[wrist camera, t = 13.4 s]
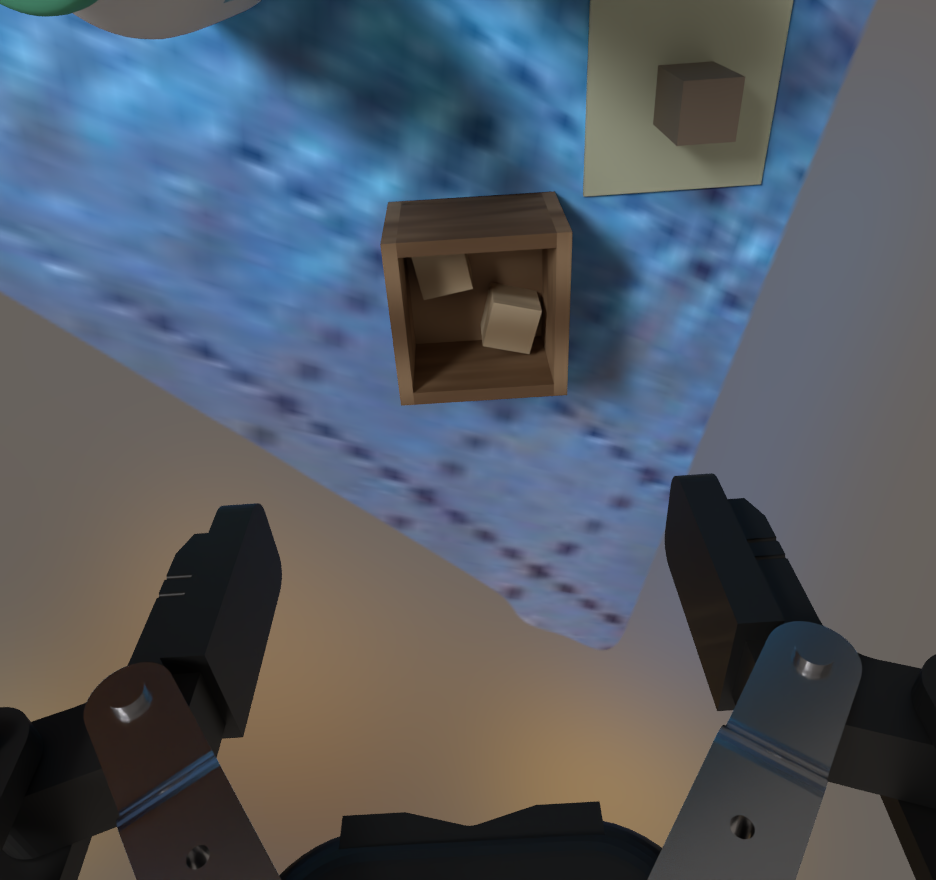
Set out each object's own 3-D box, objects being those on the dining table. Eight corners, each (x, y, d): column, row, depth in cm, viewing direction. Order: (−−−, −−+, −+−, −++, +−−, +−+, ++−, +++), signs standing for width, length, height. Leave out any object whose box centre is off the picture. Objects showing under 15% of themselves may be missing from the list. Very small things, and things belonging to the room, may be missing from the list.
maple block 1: (411, 234, 43) (410, 253, 41) (459, 223, 43) (461, 240, 40) (424, 280, 45) (423, 300, 42) (471, 269, 45) (472, 288, 42)
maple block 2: (490, 282, 45) (493, 302, 43) (536, 290, 46) (541, 311, 43) (480, 324, 47) (482, 346, 44) (524, 332, 47) (529, 354, 45)
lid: (588, -14, 37) (610, -6, 32) (792, -29, 37) (843, -22, 32) (581, 192, 43) (598, 224, 39) (756, 180, 43) (794, 210, 39)
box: (388, 202, 43) (380, 244, 37) (554, 191, 43) (572, 231, 37) (405, 349, 49) (401, 405, 43) (551, 340, 49) (566, 394, 43)
